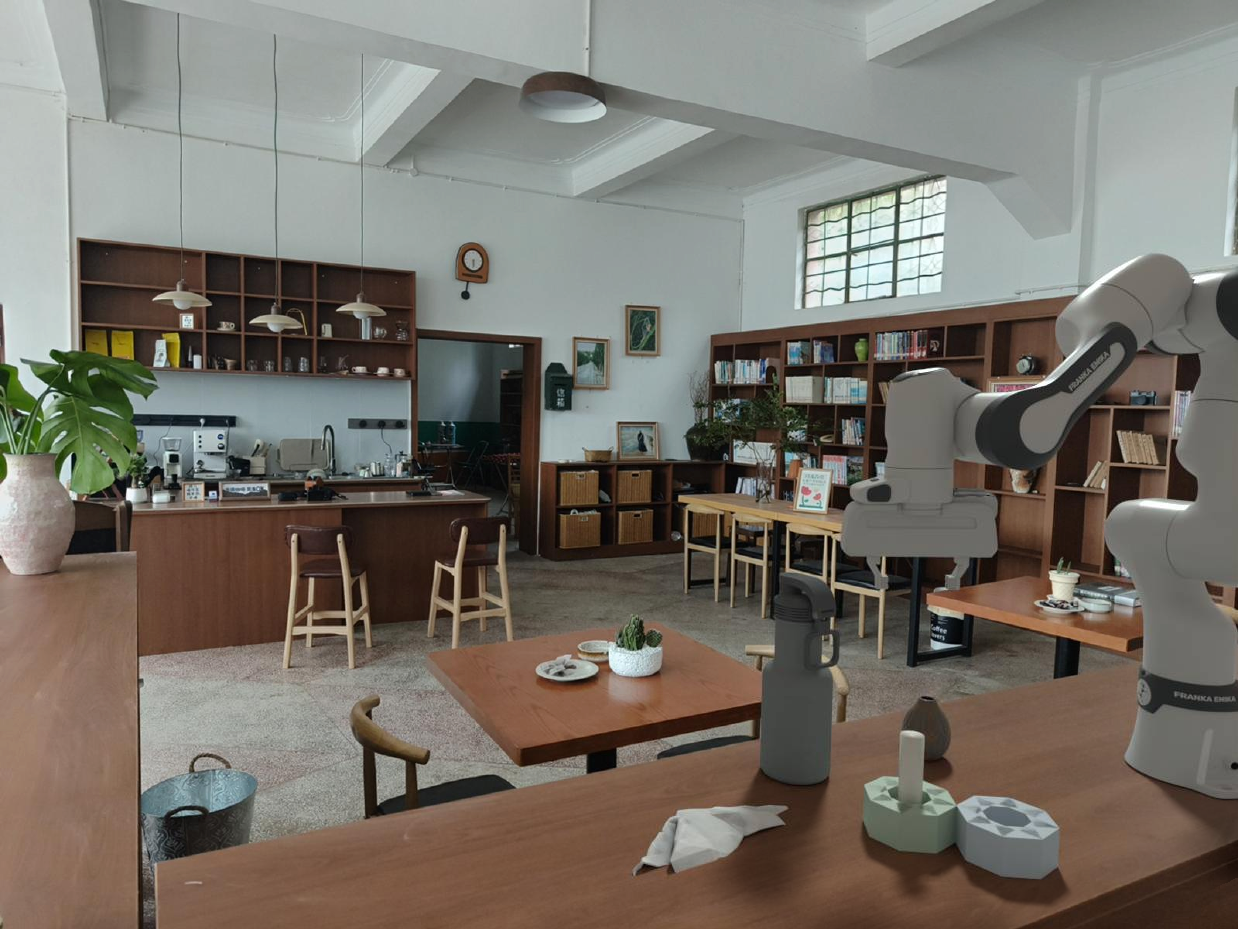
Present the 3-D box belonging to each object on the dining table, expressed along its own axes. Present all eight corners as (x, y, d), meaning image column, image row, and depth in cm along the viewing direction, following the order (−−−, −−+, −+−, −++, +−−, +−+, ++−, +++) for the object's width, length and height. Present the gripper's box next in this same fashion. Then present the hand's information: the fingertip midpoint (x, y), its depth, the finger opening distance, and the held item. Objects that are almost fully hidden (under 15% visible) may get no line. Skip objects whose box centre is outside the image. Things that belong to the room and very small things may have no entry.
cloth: (764, 795, 112) (765, 778, 111) (834, 842, 99) (834, 823, 99) (589, 836, 100) (589, 818, 100) (643, 895, 88) (644, 875, 88)
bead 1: (939, 814, 105) (940, 779, 105) (962, 855, 95) (964, 817, 95) (858, 808, 106) (859, 774, 106) (873, 849, 96) (874, 811, 96)
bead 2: (1033, 835, 100) (1035, 799, 100) (1069, 881, 90) (1071, 841, 90) (947, 829, 101) (949, 794, 101) (973, 874, 91) (975, 835, 91)
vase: (954, 767, 120) (956, 707, 119) (904, 762, 121) (906, 703, 121) (945, 748, 126) (947, 692, 126) (898, 744, 128) (900, 688, 127)
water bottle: (847, 778, 115) (853, 580, 114) (795, 794, 110) (801, 587, 109) (795, 753, 124) (800, 568, 122) (745, 766, 119) (750, 573, 117)
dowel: (917, 826, 102) (921, 731, 101) (923, 837, 99) (927, 740, 99) (894, 824, 102) (897, 730, 102) (899, 836, 100) (903, 738, 99)
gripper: (989, 486, 114) (987, 584, 115) (838, 486, 116) (837, 583, 117) (1006, 490, 108) (1004, 594, 109) (846, 490, 110) (845, 592, 111)
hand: (916, 588), depth 113 cm, fingers open, 8 cm apart
